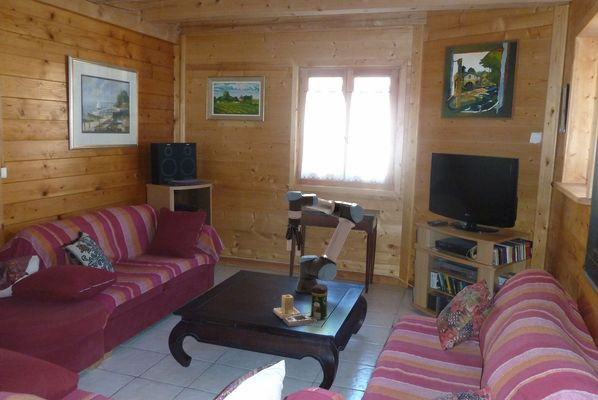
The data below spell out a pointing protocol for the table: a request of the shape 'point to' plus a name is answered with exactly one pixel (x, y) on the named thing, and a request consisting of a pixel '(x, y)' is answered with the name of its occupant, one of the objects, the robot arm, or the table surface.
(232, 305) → the table surface
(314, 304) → the coffee jar
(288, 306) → the block
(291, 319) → the rail
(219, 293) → the table surface
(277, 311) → the tray
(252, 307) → the table surface
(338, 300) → the table surface
